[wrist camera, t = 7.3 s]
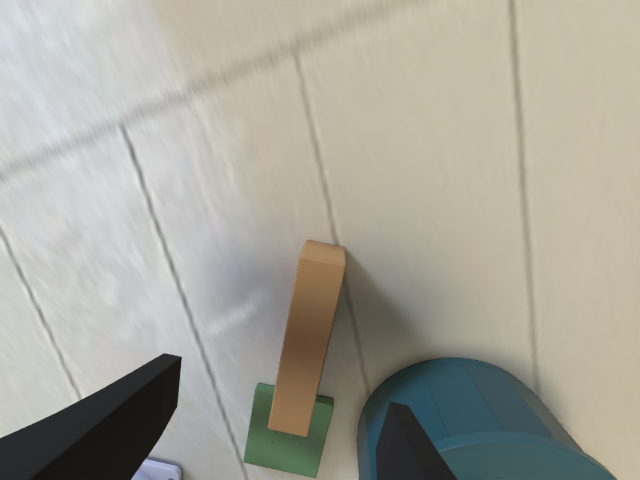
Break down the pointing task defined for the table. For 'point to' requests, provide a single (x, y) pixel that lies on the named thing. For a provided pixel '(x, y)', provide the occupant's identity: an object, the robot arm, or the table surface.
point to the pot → (455, 405)
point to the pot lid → (517, 458)
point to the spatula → (300, 371)
